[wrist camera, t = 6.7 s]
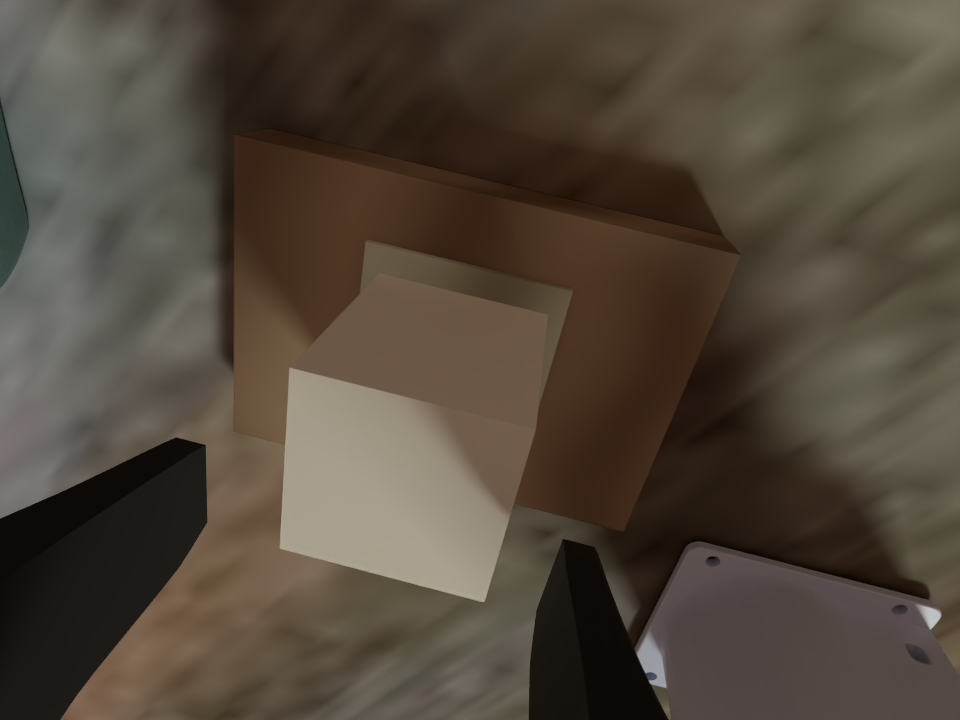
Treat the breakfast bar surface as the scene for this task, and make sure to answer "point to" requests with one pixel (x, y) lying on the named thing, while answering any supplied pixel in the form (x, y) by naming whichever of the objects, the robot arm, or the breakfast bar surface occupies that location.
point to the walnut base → (484, 274)
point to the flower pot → (10, 210)
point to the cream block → (412, 434)
